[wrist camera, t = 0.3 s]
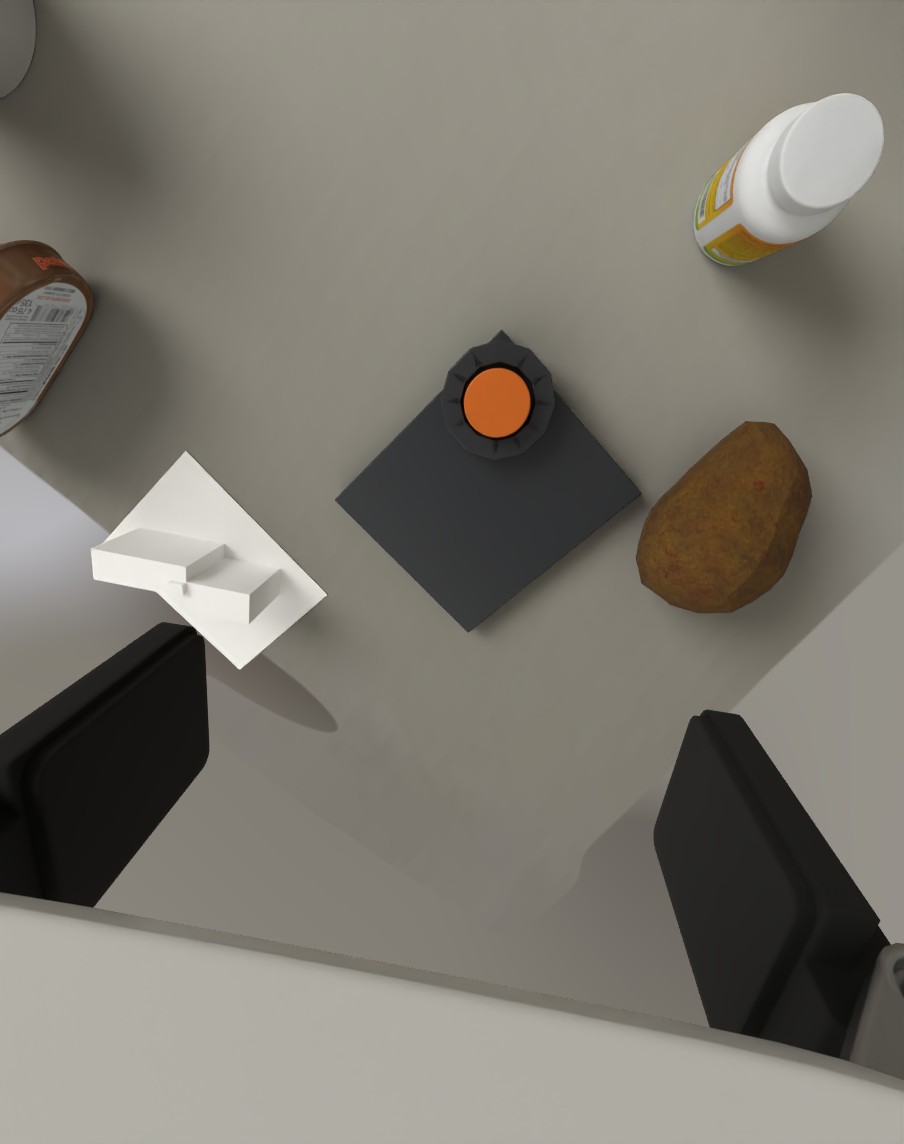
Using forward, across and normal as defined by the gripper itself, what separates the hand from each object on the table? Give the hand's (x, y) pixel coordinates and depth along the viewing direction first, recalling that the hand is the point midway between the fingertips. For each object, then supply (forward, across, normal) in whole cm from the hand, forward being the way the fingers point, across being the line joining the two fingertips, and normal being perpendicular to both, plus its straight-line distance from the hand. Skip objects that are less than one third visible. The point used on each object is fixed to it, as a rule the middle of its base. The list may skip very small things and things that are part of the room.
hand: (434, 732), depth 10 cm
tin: (+30, +32, -4) cm, 44 cm away
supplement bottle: (+30, -12, -17) cm, 36 cm away
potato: (+30, -15, +1) cm, 34 cm away
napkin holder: (+30, +21, +11) cm, 38 cm away
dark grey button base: (+30, 0, +1) cm, 30 cm away
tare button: (+27, 0, -5) cm, 27 cm away
